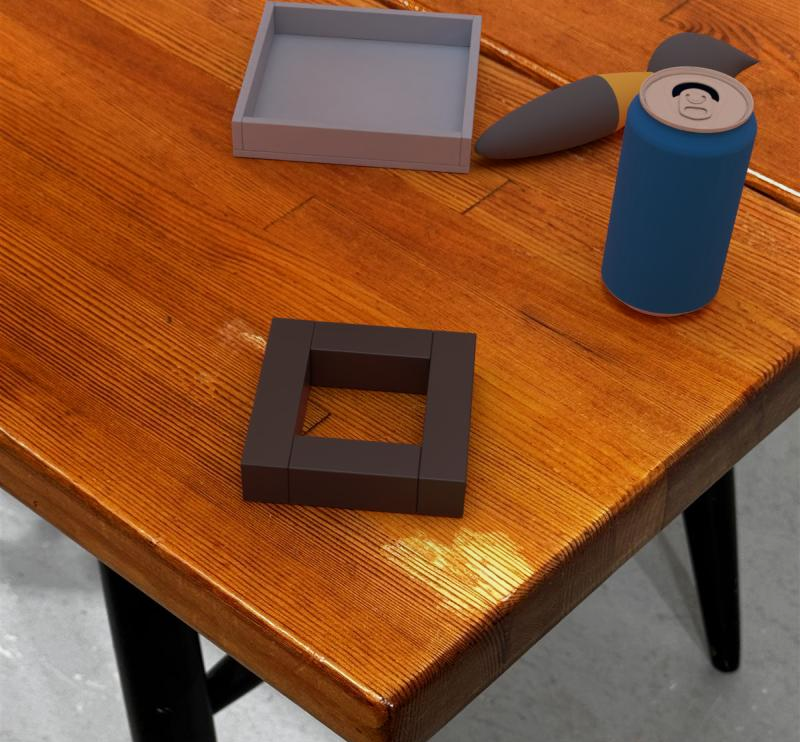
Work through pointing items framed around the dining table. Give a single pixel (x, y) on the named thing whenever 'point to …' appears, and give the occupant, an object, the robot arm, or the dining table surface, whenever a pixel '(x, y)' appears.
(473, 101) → the tray
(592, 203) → the dining table surface
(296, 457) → the frame
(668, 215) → the beverage can
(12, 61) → the dining table surface
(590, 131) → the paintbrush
